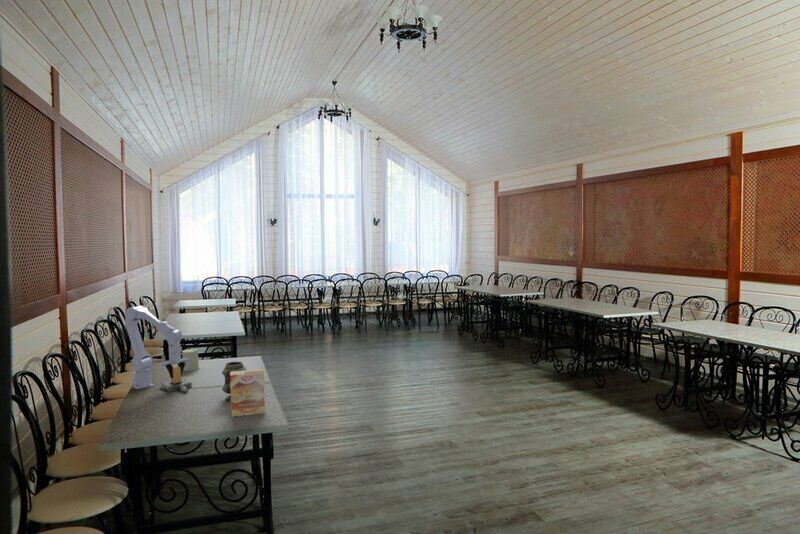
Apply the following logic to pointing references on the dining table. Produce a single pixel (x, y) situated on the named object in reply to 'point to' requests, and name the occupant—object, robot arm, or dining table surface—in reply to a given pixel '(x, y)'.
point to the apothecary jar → (226, 371)
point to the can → (191, 359)
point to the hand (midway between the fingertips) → (176, 377)
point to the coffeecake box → (247, 392)
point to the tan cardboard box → (176, 374)
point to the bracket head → (177, 385)
